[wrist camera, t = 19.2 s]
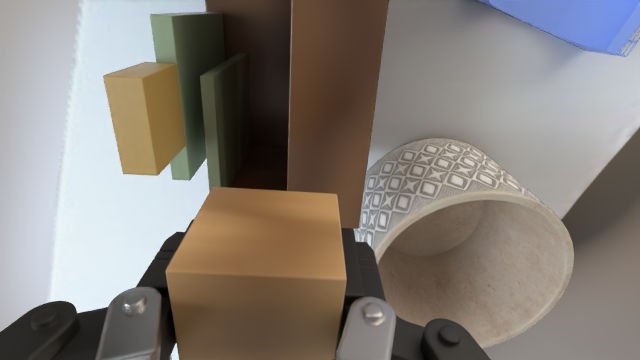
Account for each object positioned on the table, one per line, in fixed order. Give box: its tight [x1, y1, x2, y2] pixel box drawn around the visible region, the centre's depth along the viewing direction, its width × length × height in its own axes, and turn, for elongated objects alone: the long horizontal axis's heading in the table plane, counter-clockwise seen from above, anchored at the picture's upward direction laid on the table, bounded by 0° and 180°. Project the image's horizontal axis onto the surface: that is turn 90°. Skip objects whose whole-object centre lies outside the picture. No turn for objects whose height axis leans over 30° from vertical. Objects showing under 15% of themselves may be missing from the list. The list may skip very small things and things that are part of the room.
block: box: [166, 187, 347, 360], centre depth 12 cm, size 4×4×4 cm
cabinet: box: [200, 0, 389, 229], centre depth 26 cm, size 13×19×14 cm
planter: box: [354, 138, 574, 348], centre depth 34 cm, size 16×16×13 cm
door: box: [103, 12, 225, 180], centre depth 24 cm, size 2×10×16 cm, turn 176°
